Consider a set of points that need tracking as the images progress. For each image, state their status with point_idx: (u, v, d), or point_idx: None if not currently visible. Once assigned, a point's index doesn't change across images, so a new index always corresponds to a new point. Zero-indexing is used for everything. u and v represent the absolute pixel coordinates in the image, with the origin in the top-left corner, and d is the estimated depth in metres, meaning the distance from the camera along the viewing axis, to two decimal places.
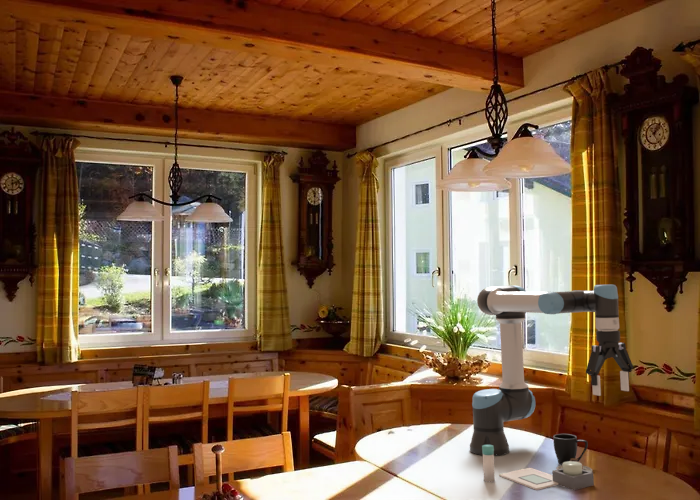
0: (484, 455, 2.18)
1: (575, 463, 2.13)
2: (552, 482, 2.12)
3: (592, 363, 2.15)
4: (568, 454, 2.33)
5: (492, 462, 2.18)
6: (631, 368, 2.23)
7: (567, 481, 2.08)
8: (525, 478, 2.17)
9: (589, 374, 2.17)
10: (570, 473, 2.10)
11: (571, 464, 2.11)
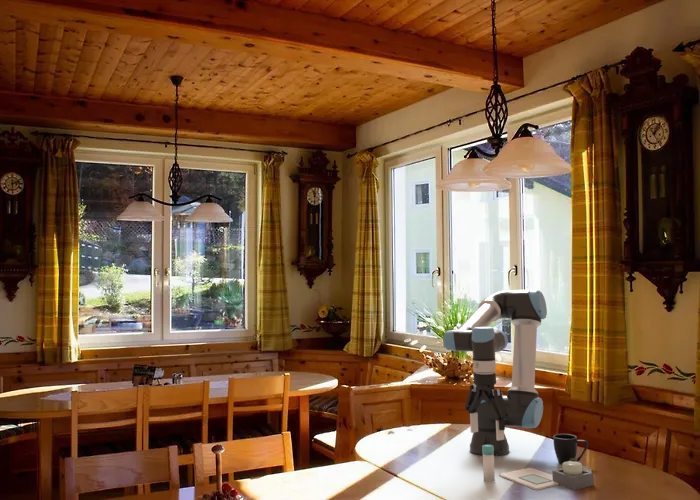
0: (484, 455, 2.18)
1: (575, 463, 2.13)
2: (552, 482, 2.12)
3: None
4: (568, 454, 2.33)
5: (492, 462, 2.18)
6: (501, 418, 2.11)
7: (567, 481, 2.08)
8: (525, 478, 2.17)
9: None
10: (570, 473, 2.10)
11: (571, 464, 2.11)
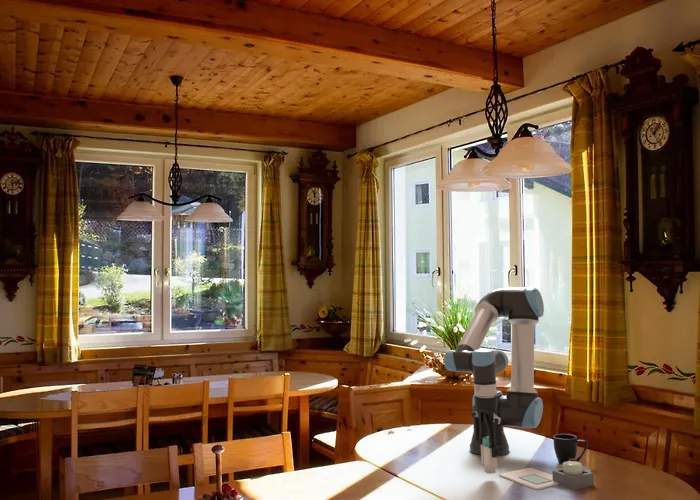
0: (484, 447, 2.19)
1: (575, 463, 2.13)
2: (552, 482, 2.12)
3: None
4: (568, 454, 2.33)
5: None
6: (493, 445, 2.15)
7: (567, 481, 2.08)
8: (525, 478, 2.17)
9: None
10: (570, 473, 2.10)
11: (571, 464, 2.11)
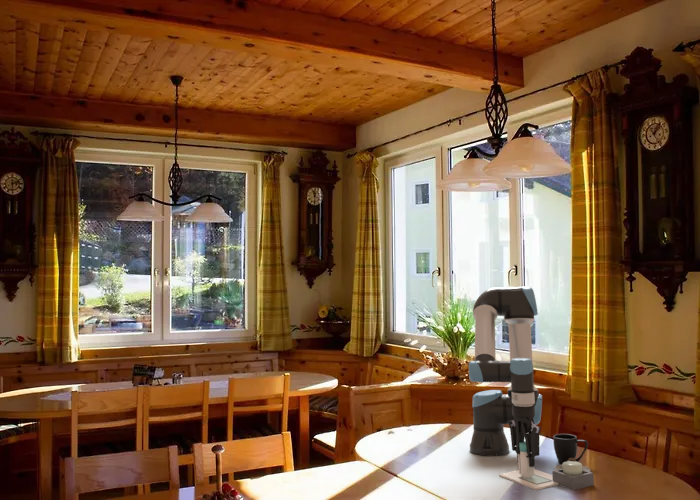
0: (521, 452, 2.18)
1: (575, 463, 2.13)
2: (552, 482, 2.12)
3: None
4: (568, 454, 2.33)
5: None
6: (531, 454, 2.14)
7: (567, 481, 2.08)
8: None
9: None
10: (570, 473, 2.10)
11: (571, 464, 2.11)
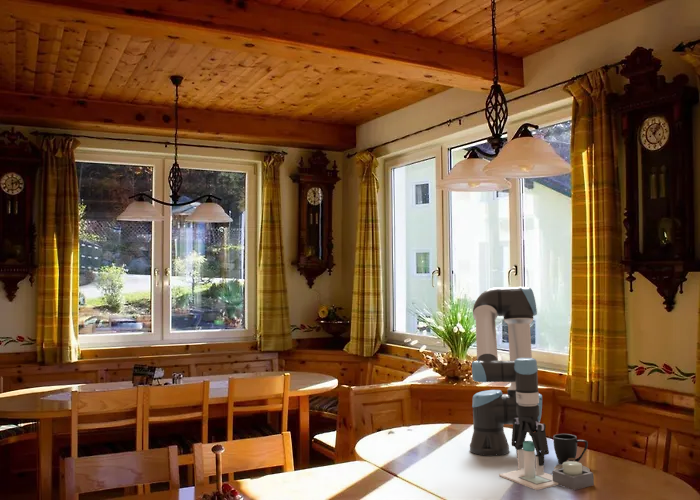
0: (525, 451, 2.19)
1: (575, 463, 2.13)
2: (552, 482, 2.12)
3: None
4: (568, 454, 2.33)
5: (533, 459, 2.18)
6: (541, 454, 2.13)
7: (567, 481, 2.08)
8: (525, 478, 2.17)
9: (521, 447, 2.25)
10: (570, 473, 2.10)
11: (571, 464, 2.11)
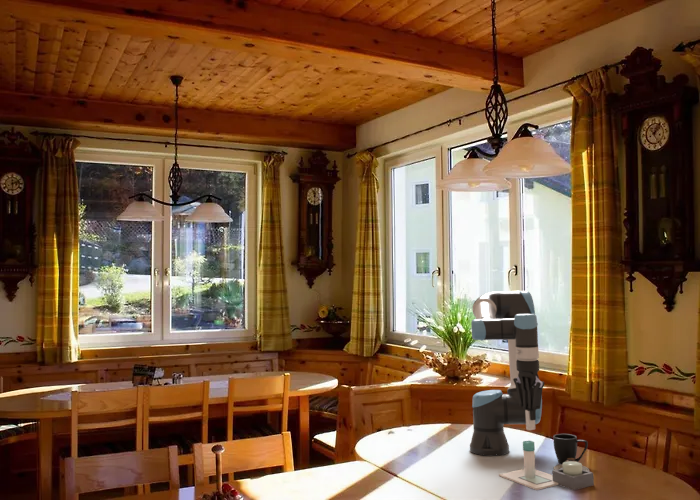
0: (524, 451, 2.19)
1: (575, 463, 2.13)
2: (552, 482, 2.12)
3: None
4: (568, 454, 2.33)
5: (533, 459, 2.18)
6: (532, 407, 2.17)
7: (567, 481, 2.08)
8: (525, 478, 2.17)
9: None
10: (570, 473, 2.10)
11: (571, 464, 2.11)
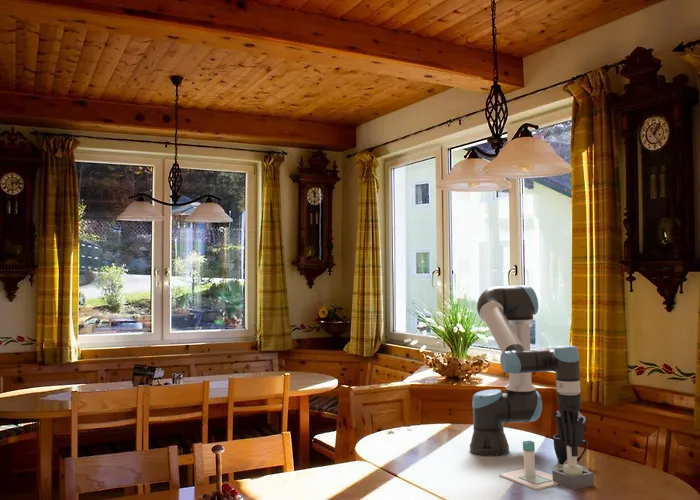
0: (524, 451, 2.19)
1: None
2: (552, 482, 2.12)
3: None
4: None
5: (533, 459, 2.18)
6: (574, 443, 2.10)
7: (567, 481, 2.08)
8: (525, 478, 2.17)
9: None
10: None
11: (571, 467, 2.11)
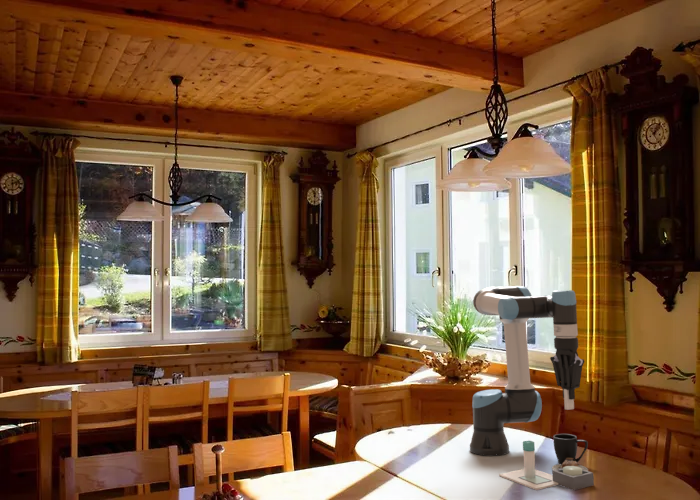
0: (524, 451, 2.19)
1: (575, 468, 2.13)
2: (552, 482, 2.12)
3: None
4: (568, 454, 2.33)
5: (533, 459, 2.18)
6: (571, 386, 2.11)
7: (567, 481, 2.08)
8: (525, 478, 2.17)
9: None
10: None
11: (572, 469, 2.11)
